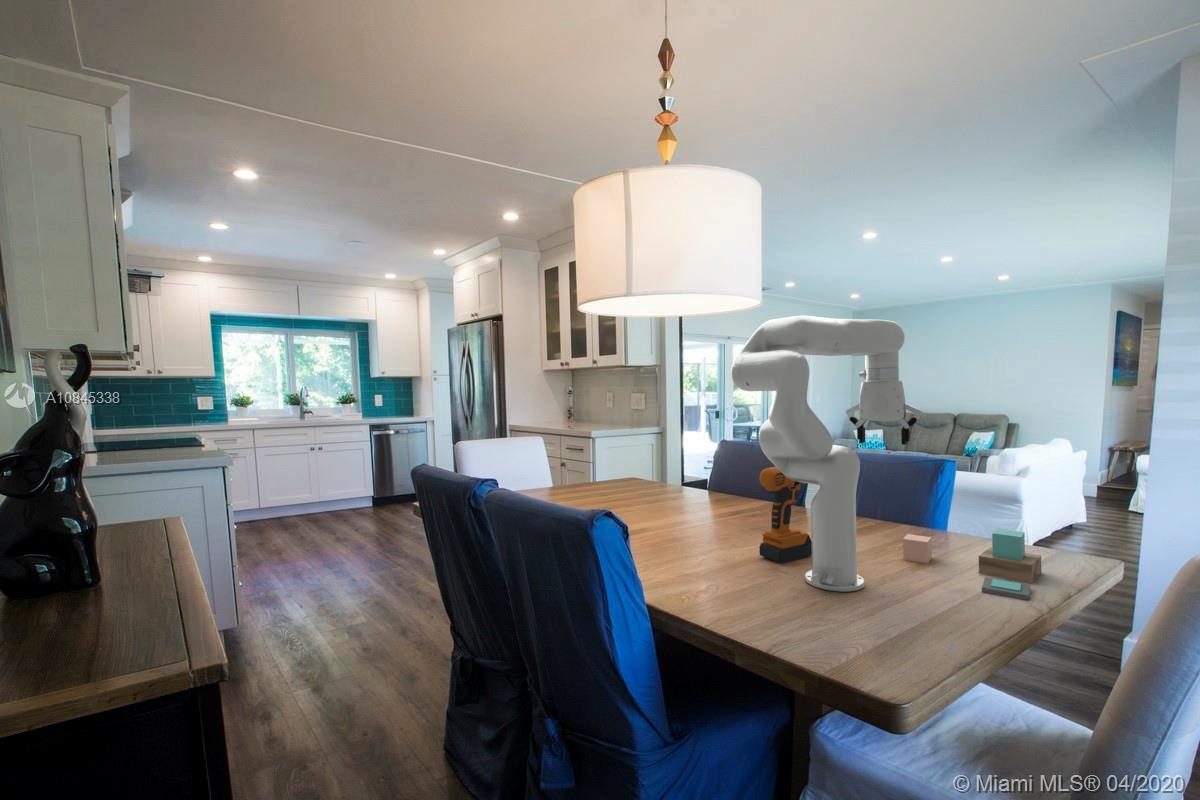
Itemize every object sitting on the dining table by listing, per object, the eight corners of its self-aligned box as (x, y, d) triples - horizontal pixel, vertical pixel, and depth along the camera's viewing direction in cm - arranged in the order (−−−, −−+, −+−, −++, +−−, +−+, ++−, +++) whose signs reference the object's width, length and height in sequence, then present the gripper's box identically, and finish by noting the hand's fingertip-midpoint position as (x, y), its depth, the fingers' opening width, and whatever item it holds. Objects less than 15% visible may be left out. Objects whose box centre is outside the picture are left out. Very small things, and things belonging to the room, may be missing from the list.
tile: (1029, 600, 112) (1029, 594, 112) (981, 592, 118) (981, 586, 118) (1030, 588, 119) (1029, 582, 119) (985, 581, 124) (985, 575, 124)
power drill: (807, 545, 155) (805, 457, 155) (830, 551, 149) (828, 460, 149) (753, 559, 144) (751, 464, 144) (776, 566, 138) (774, 467, 137)
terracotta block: (927, 563, 137) (927, 542, 137) (903, 560, 141) (902, 538, 141) (931, 558, 141) (931, 537, 141) (907, 554, 145) (907, 534, 145)
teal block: (1021, 560, 125) (1021, 537, 125) (992, 556, 129) (992, 533, 129) (1024, 555, 129) (1024, 532, 129) (996, 550, 133) (995, 528, 133)
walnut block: (1031, 585, 122) (1031, 565, 122) (978, 574, 129) (978, 555, 129) (1041, 574, 128) (1041, 555, 128) (990, 565, 136) (990, 547, 136)
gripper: (841, 377, 140) (842, 443, 141) (918, 374, 129) (919, 446, 130) (849, 377, 146) (850, 440, 146) (923, 374, 135) (924, 443, 136)
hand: (882, 443), depth 138 cm, fingers open, 9 cm apart
